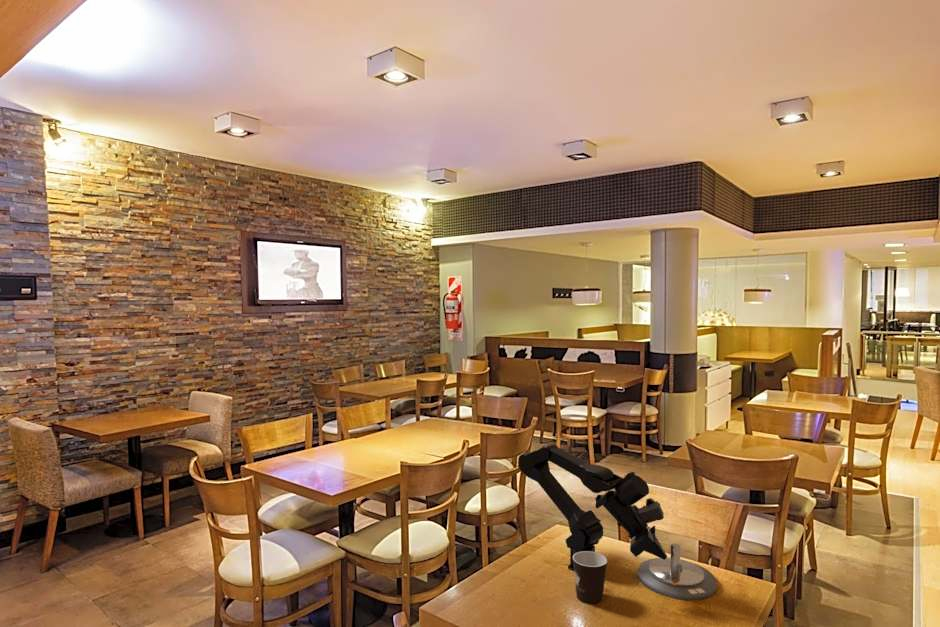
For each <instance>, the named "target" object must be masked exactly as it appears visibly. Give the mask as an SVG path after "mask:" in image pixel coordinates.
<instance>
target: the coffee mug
mask: <svg viewBox="0 0 940 627" xmlns="http://www.w3.org/2000/svg"><path fill="white" fill-rule="evenodd" d="M607 564H608V558H607V557H606V556H605V555H603V554H602V553H598V552H597V551H595V552H591V551H582V552H578V553H575V554H574V555H573V567H574V570H573V576H574V583H575V592H576V599H577V600H578V601H579V602H581V603H582V604H587V605H598V604H600V603H601V602H603V597H604V596H603V595H604V588H605V579H606V574H607V573H606V572H607V566H608V565H607Z"/></svg>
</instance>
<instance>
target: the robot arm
mask: <svg viewBox="0 0 940 627" xmlns="http://www.w3.org/2000/svg"><path fill="white" fill-rule="evenodd" d="M517 460H518V461H517V467H518V468H519V470H520V472H522V473H523V474H524V475H525V476H526V477H527V478H529V479H531V480H532V481H535V482H536V483H537V484H538V485H539V486H540V488H542V490H543V491H544V493H545V494H546V495H547V496H548V498H550V500H551V501H552V503H553V504H554V505H555V506H556V507H557V509H558V510H559V511H560V513H562V515H563V516H564V518H565V519H566V520H567V524H568V529H569V532H570V533H571V535H569V536H568V537H567V538H565V544H566V547H567V548H568V549H570V550H569V551H570V554H569V559H570V560H569V562H570V563H569V564H568V565H567V569H568V570H569V569H570V570H572V571H574V567H573V555H574V554H575V553H578V552H582V551H591V552H596V546H595V545H598V544H599V543H600V540H601V539H602V538H603V536H604V527H603V525H602V523H601V522H602V521H601V519H599V518H598V517H597V516H596V514H595V513H594V511H593V510H587V511H585V510H583V509H581V507H580V506H579V505H578V504H577V503H576V502H575V500H574V499H573V497H572V496H570V494H569V493H568V491H567V490H565V488H564V487H563V486H562V484H561V483H560V482H559V481H558V479H557V478H555V476H554V475H553V474H552V472H551V471H550V464H549V462H551V463H552V464H554V465H556V466H558V467H559V468H560V469H563V470H565V471H566V472H569V473H570V474H572V475H574V476H576V478H578V479H579V480H580V481H581V483H582V485H583V486H585V488H587V489H588V490H589V491H590V492H592V493H594V494H597V495H596V497H595V508H596V509H599V508H601V507H604V508H605V510H606V511H607V512H608V513H609V514H610V515H611V516H612V518H614V520H616V525H617V526H618V527H619V528H620V527H622V528H623V529H624V530H625V531H626V532H627V535H628V536H627V537H628V538H629V539H630V544H629V550H630V553H631V554H632V555H633V556H634V557H635V558H637V557H638V556H640V555H641V554H642V553H643V552H646V553H648V554H651V555H654V556H655V557H656V558H662V559H664V560H665V559H666V558H668V554H667V553H666V552H665V550H664V548H663V546H662V544H661V543H660V542H659V540H658V538H657V536H656V526H655V525H652V527H650V526H649V525H648V524H650V523H652V522H653V523H654V522H656V521H662V520H664V518H665V516H664V513H665V512H664V511H663V509H662V507H661V503H660V502H658V501H657V500H654V499H653V498H651V497H648V498H647V499H646V500H645V505H643V506H642V507H638V506H637V505H635V504H636V503H638V502H639V501H641V500H643V498H645V497H647V496H648V495H649V494H650V487H649V485H648V483H647V482H646V480H644V479H643V478H642V477H640V476H639V475H637V474H636V473H635V472H634V471H631V472H628V473H627V474H626V475H624V477H621V476H620V475H619V474H615V473H614V472H613V471H612V469H610V468H609V467H605V466H602V465H599V464H592V463H588V462H586V461H584V460H583V459H580V458H579V457H577V456H575V455H573V454H571V453H570V452H567V451H565V450H563V449H562V448H560V447H559V446H558V445H556V444H554V443H552V444H547V445H544V446H542V447H541V448H539V449H537V450H533V451H529V452H526V453H522V454H520V455H519V457H518V459H517ZM602 492H605V493H604V494H600V493H602Z"/></svg>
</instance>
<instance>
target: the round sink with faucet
mask: <svg viewBox="0 0 940 627" xmlns="http://www.w3.org/2000/svg"><path fill="white" fill-rule="evenodd" d="M658 558H659V559H655V560H653V561H652V562H651V563H650V564H649V572H650V574H651V575H652V576H653V577H654V578H655V579H657V580H658V581H660V582H663V583H665V584H668V585H672V586H677V587H695V586H698V585H700V584H702V583H703V582H704V572H703V570H702V569H701V568H700V567H698V566H697V565H698V564H697V565H695V564H696V563H694V562H691V561H688V560H685V559H681V545H680V544H679V543H671V544H670V557H667V558H666V559H665V560H664V559H662V558H660V557H658ZM693 563H694V564H693Z"/></svg>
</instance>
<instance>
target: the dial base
mask: <svg viewBox="0 0 940 627" xmlns="http://www.w3.org/2000/svg"><path fill="white" fill-rule="evenodd" d="M659 558H660V557H656V558H650V559H647V560H644V561H642V562H640V564H639V565H638V567H637V579H638V580H639V582H640V583H641V584H642V585H643V586H644V587H645V588H647V589H648V590H650V591H652V592H654V593H656V594H659V595H661V596H664V597H667V598H672V599H675V600H676V599H677V600H683V601H695V600H696V601H697V599H699V600H704V599H708V598H710V597H712V596H713V595H714V594H715V593H716V592H715V591H717V589H716V588H717V586H718V585H717V583H718V581H717V579H716V578H717V577H715V575H714V574H713V573H712V572H711V571H710V570H708V569H707V568H705V567H704V566H701V565H699V564H696V563H694V562H692V563H693V564H695V565H697V566H698V567H700V568H701V569H702V570H703V572H704V582H703V583H702V584H700V585H698V586H695V587H677V586H672V585H668V584H665V583H663V582H660V581H658V580H657V579H655V578H654V577H653V576H652V575H651V574H650V572H649V564H650V563H651V562H652V561H653V560H655V559H659ZM711 595H712V596H711ZM707 597H708V598H707Z"/></svg>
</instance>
